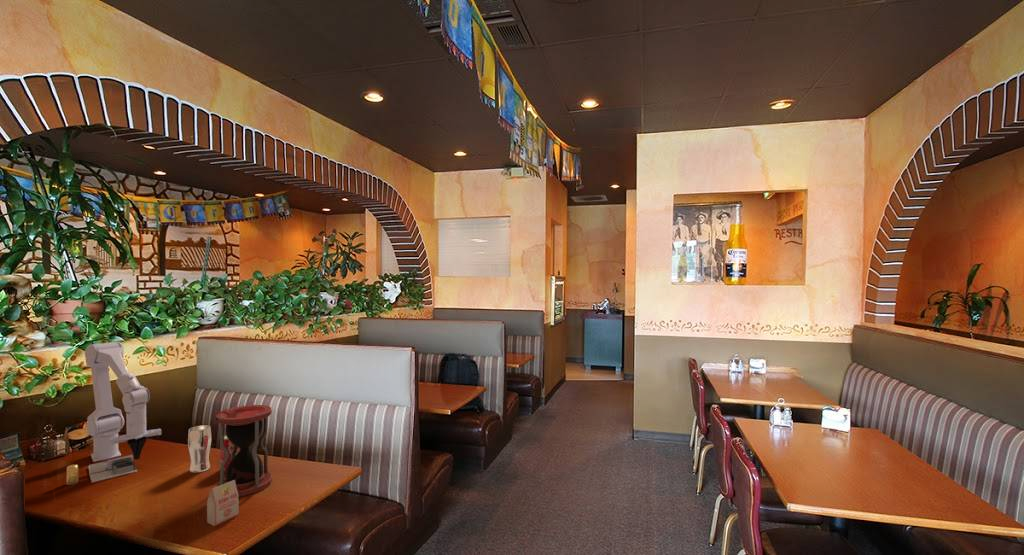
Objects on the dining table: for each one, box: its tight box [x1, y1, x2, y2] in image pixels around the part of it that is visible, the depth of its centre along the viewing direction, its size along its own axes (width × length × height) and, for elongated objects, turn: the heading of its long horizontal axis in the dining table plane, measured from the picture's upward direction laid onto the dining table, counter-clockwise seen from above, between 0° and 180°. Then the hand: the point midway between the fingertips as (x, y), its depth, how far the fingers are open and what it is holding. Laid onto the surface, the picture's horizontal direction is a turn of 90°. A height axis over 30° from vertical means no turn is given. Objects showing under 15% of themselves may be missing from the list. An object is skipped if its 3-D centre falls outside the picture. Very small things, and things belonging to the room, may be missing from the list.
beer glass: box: [187, 424, 212, 474], centre depth 166 cm, size 7×7×15 cm
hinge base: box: [88, 460, 138, 483], centre depth 163 cm, size 9×12×4 cm
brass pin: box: [66, 464, 79, 486], centre depth 155 cm, size 3×3×6 cm
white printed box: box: [206, 480, 240, 527], centre depth 133 cm, size 4×7×10 cm, turn 152°
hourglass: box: [215, 404, 273, 497], centre depth 153 cm, size 16×16×25 cm
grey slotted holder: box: [87, 454, 134, 471], centre depth 168 cm, size 9×12×4 cm
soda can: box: [219, 434, 240, 473], centre depth 166 cm, size 7×7×12 cm
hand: (136, 458), depth 170 cm, fingers closed
